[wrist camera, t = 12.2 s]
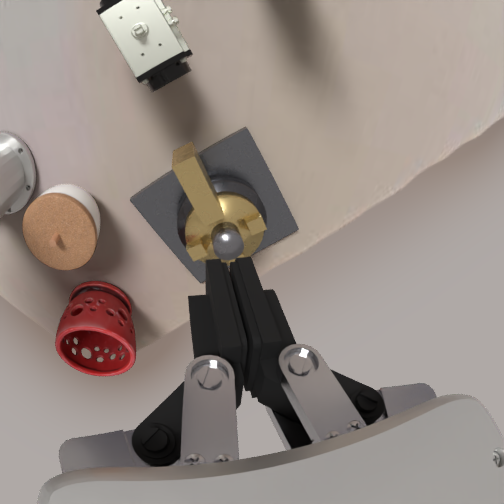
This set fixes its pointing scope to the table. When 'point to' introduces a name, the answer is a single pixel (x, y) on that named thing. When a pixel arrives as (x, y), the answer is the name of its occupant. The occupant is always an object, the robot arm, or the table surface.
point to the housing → (223, 179)
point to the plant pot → (97, 329)
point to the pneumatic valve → (147, 39)
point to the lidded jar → (62, 227)
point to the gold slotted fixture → (215, 214)
